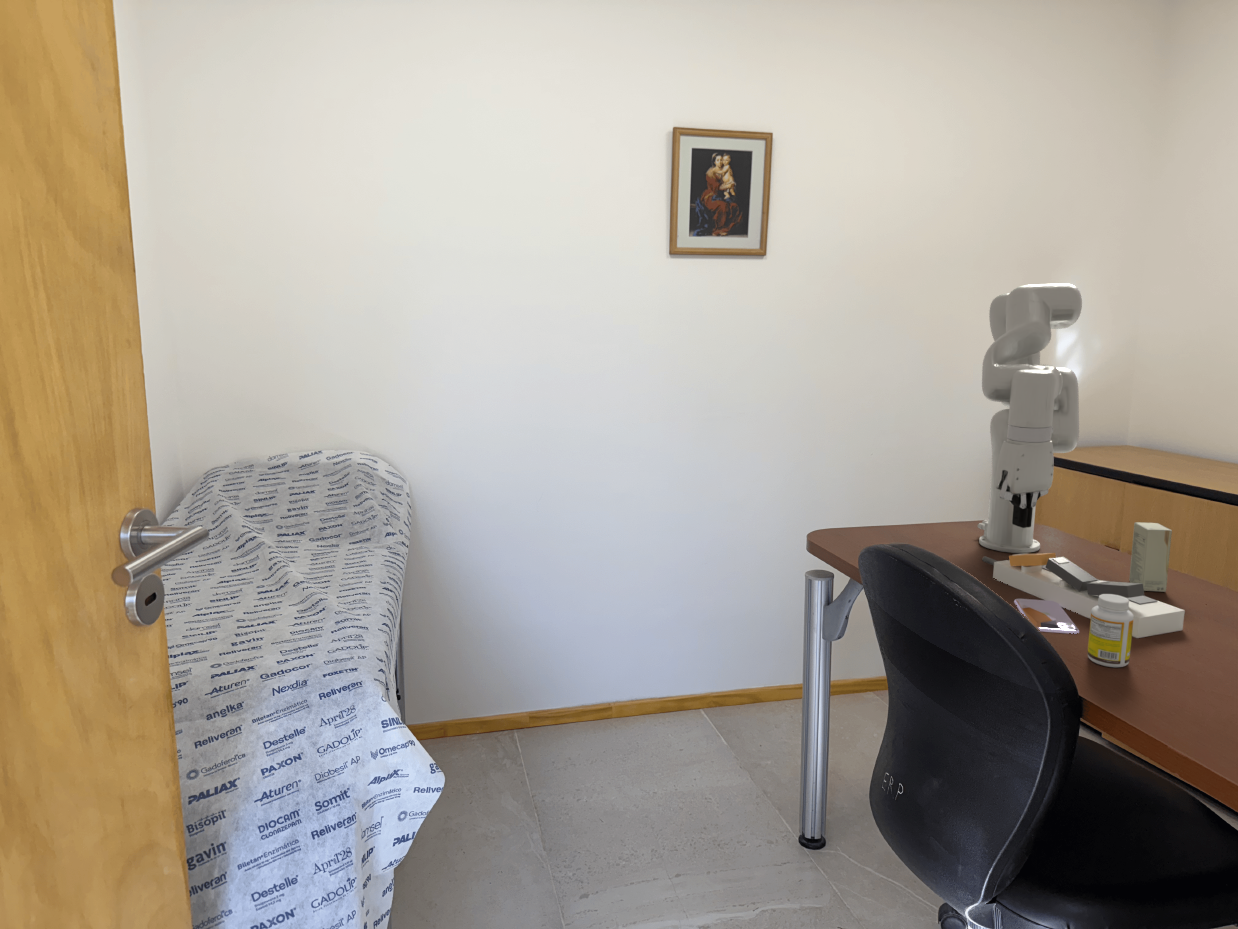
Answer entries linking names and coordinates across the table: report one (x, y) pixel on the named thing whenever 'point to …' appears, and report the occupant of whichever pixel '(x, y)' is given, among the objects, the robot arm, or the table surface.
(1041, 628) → the mobile phone
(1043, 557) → the rocker
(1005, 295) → the robot arm
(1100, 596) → the supplement bottle
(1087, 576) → the block
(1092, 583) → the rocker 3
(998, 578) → the power strip
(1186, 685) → the table surface
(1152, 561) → the skincare box
